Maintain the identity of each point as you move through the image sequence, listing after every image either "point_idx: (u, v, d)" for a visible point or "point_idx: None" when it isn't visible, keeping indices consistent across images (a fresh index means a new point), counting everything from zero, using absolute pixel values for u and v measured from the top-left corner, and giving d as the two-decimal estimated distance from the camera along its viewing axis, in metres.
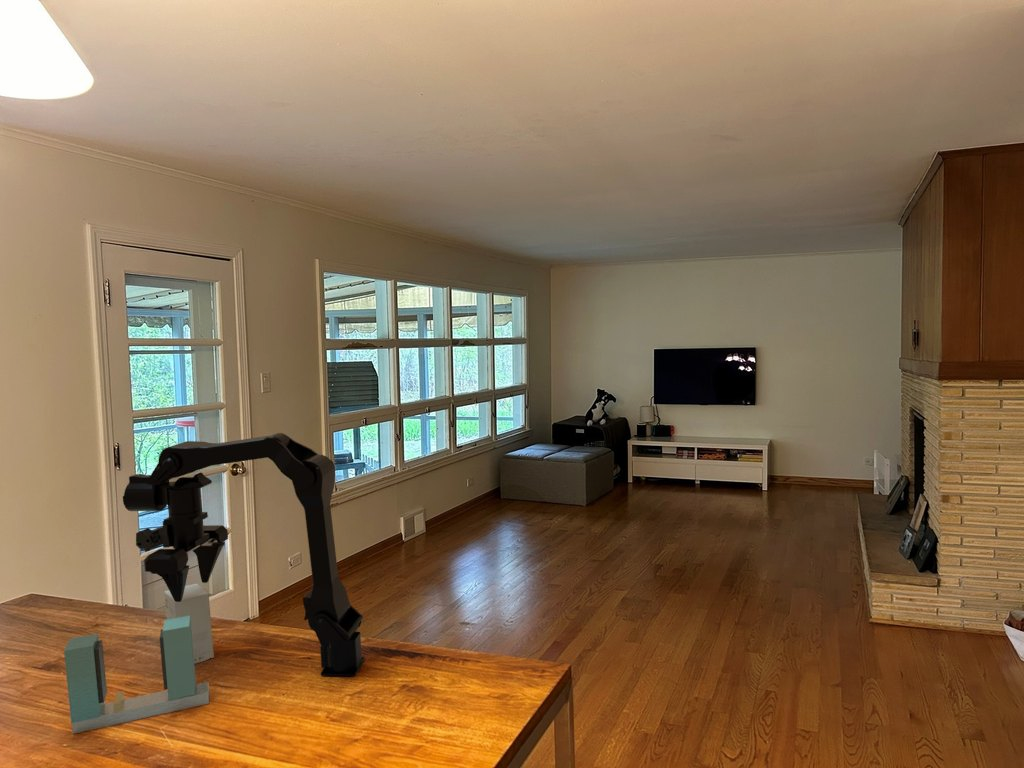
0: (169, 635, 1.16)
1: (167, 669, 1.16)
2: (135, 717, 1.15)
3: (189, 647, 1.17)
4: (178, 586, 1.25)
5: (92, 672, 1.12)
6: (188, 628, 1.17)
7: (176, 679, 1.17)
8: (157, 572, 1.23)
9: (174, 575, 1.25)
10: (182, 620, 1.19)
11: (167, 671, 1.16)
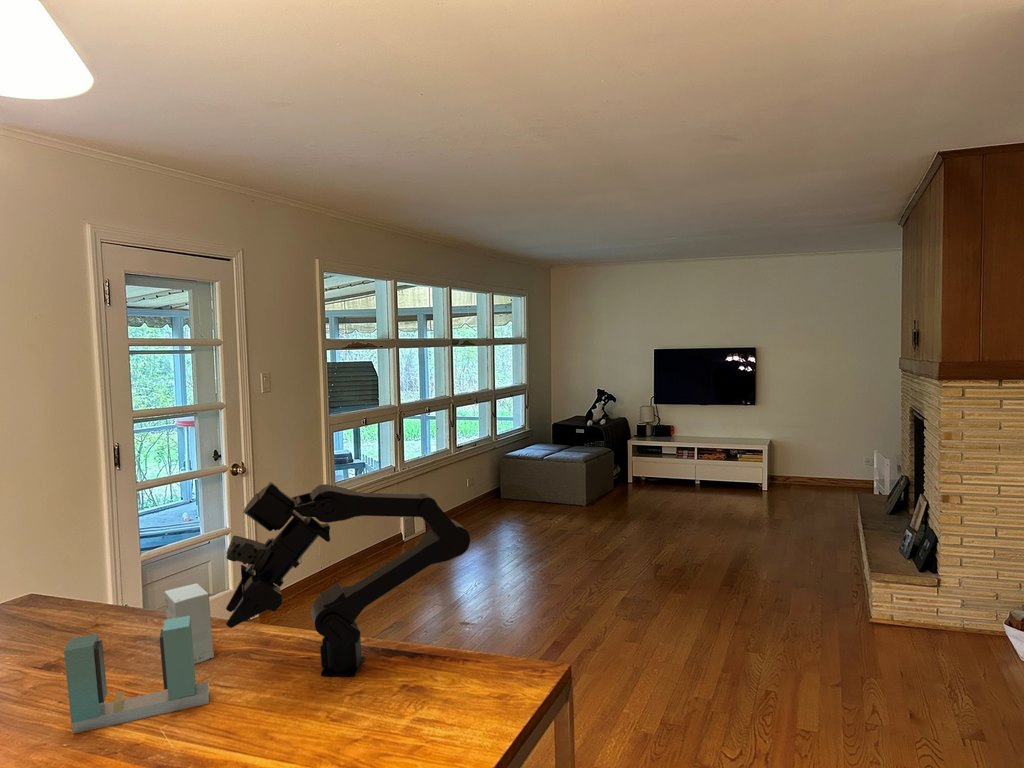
0: (169, 635, 1.16)
1: (167, 669, 1.16)
2: (135, 717, 1.15)
3: (189, 647, 1.17)
4: (247, 615, 1.18)
5: (92, 672, 1.12)
6: (188, 628, 1.17)
7: (176, 679, 1.17)
8: (250, 596, 1.16)
9: (252, 604, 1.19)
10: (182, 620, 1.19)
11: (167, 671, 1.16)
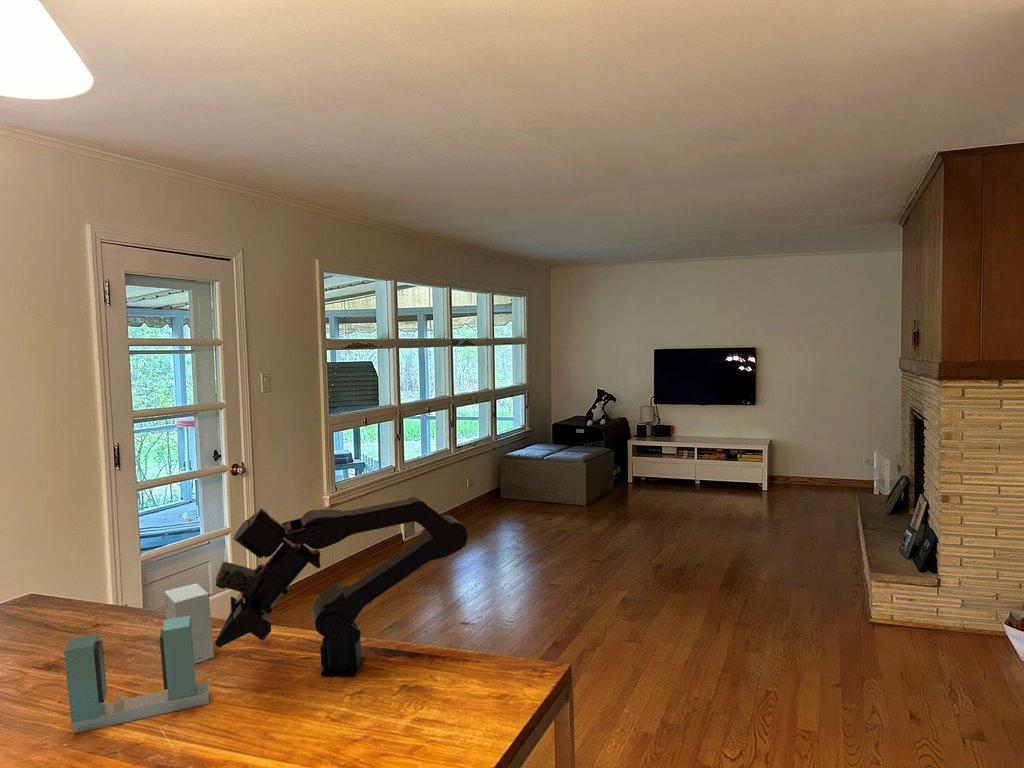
0: (169, 635, 1.16)
1: (167, 669, 1.16)
2: (135, 717, 1.15)
3: (189, 647, 1.17)
4: (235, 635, 1.21)
5: (92, 672, 1.12)
6: (188, 628, 1.17)
7: (176, 679, 1.17)
8: None
9: None
10: (182, 620, 1.19)
11: (167, 671, 1.16)
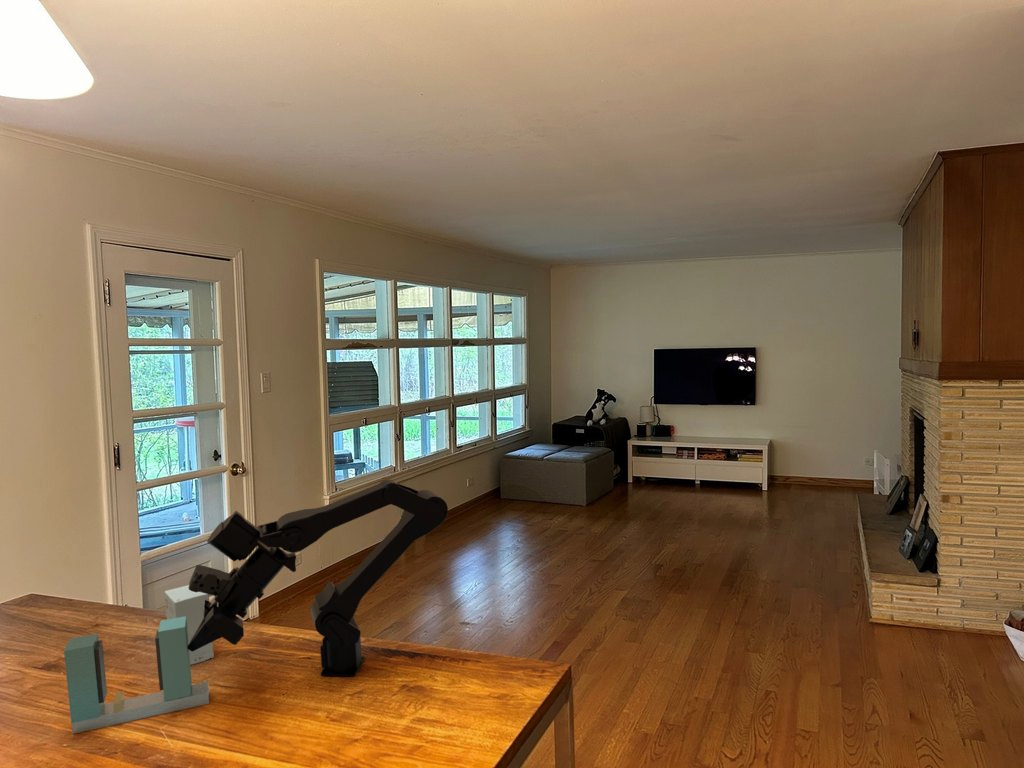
0: (165, 636, 1.16)
1: (163, 670, 1.16)
2: (135, 717, 1.15)
3: (185, 648, 1.17)
4: (208, 639, 1.19)
5: (92, 672, 1.12)
6: (184, 629, 1.17)
7: (172, 680, 1.17)
8: None
9: None
10: (178, 621, 1.19)
11: (163, 672, 1.16)
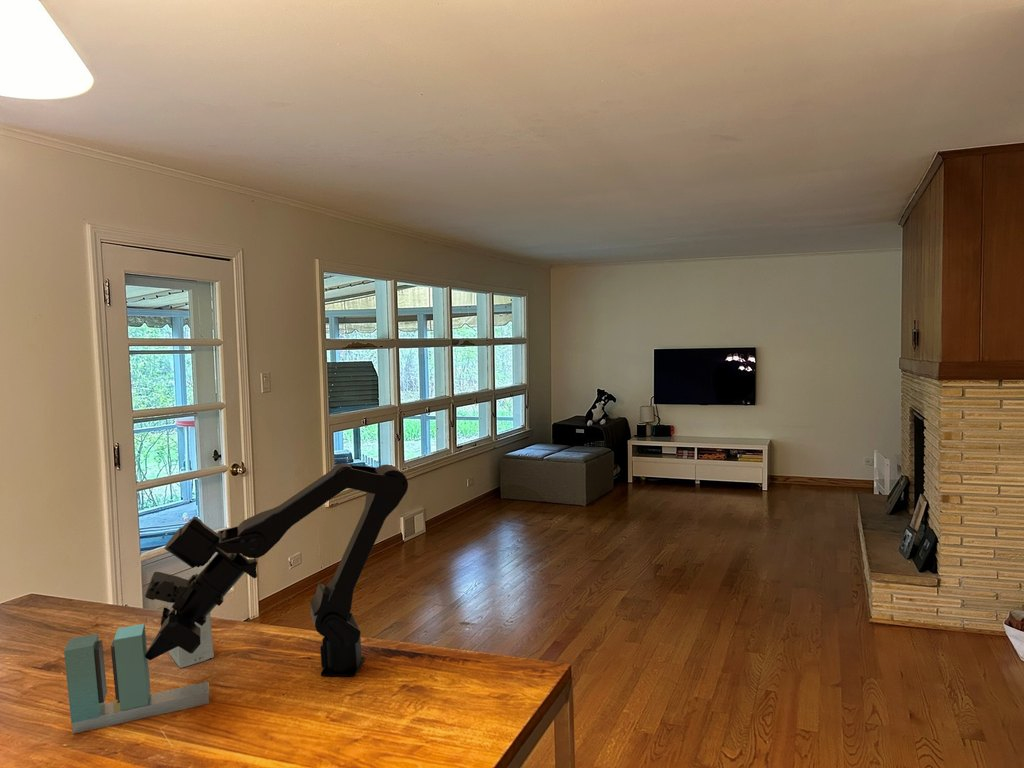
0: (121, 644, 1.13)
1: (119, 679, 1.14)
2: (135, 717, 1.15)
3: (142, 656, 1.15)
4: (166, 647, 1.17)
5: (92, 672, 1.12)
6: (140, 637, 1.14)
7: (128, 689, 1.14)
8: None
9: None
10: (136, 629, 1.17)
11: (119, 681, 1.14)
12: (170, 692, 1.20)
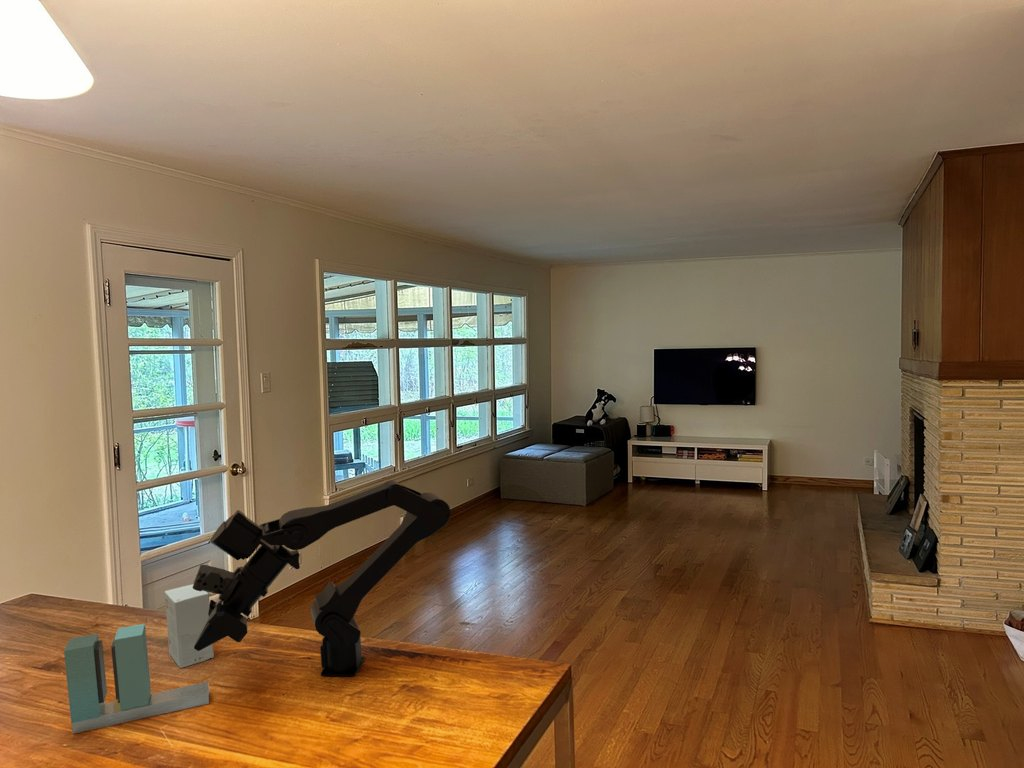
0: (121, 644, 1.13)
1: (119, 679, 1.14)
2: (135, 717, 1.15)
3: (142, 656, 1.15)
4: (214, 638, 1.20)
5: (92, 672, 1.12)
6: (141, 637, 1.15)
7: (128, 689, 1.14)
8: None
9: None
10: (136, 628, 1.17)
11: (119, 681, 1.14)
12: (170, 692, 1.20)
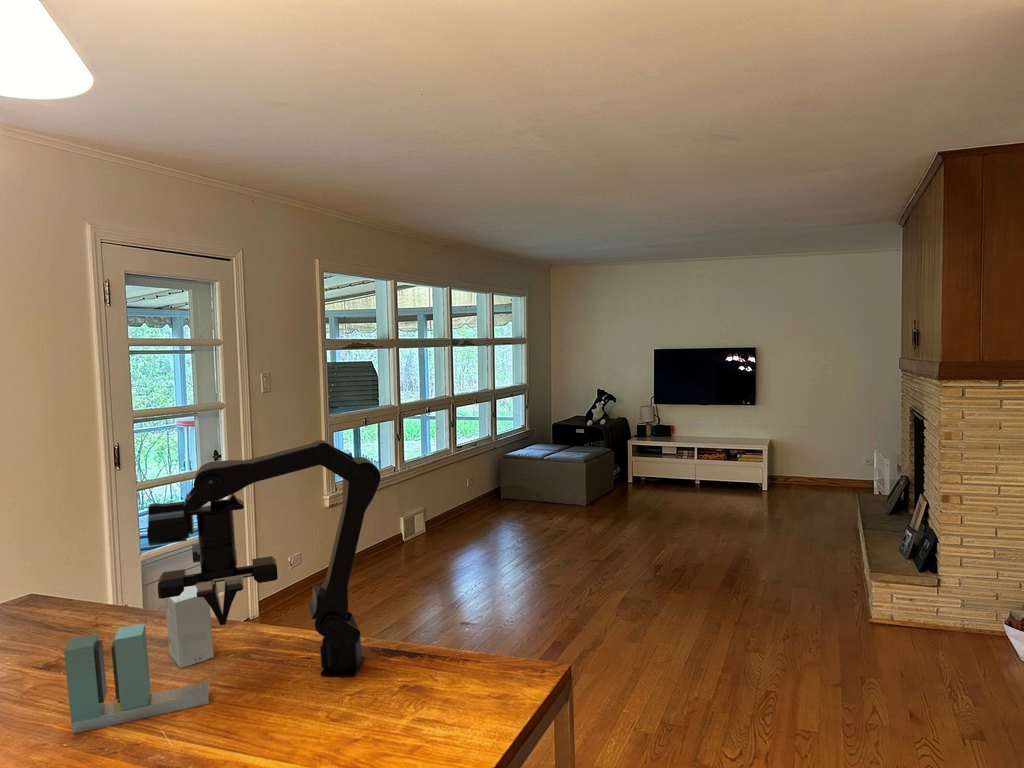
0: (121, 644, 1.13)
1: (119, 679, 1.14)
2: (135, 717, 1.15)
3: (142, 656, 1.15)
4: None
5: (92, 672, 1.12)
6: (141, 637, 1.15)
7: (128, 689, 1.14)
8: None
9: None
10: (136, 628, 1.17)
11: (119, 681, 1.14)
12: (170, 692, 1.20)
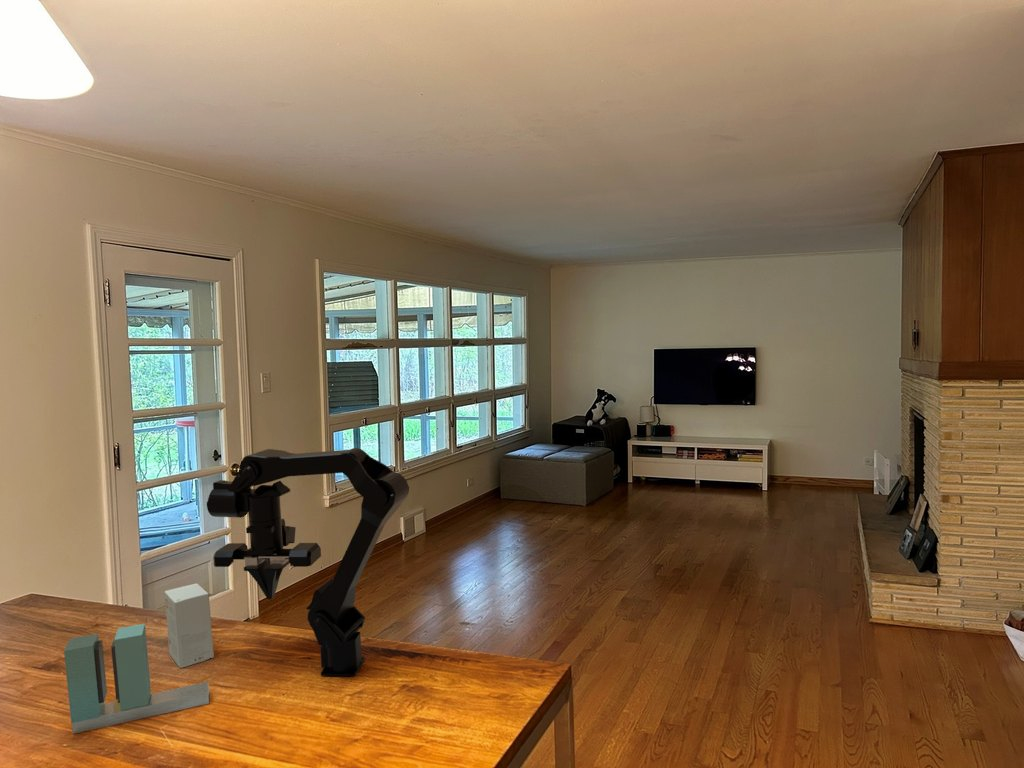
0: (121, 644, 1.13)
1: (119, 679, 1.14)
2: (135, 717, 1.15)
3: (142, 656, 1.15)
4: None
5: (92, 672, 1.12)
6: (141, 637, 1.15)
7: (128, 689, 1.14)
8: None
9: None
10: (136, 628, 1.17)
11: (119, 681, 1.14)
12: (170, 692, 1.20)
